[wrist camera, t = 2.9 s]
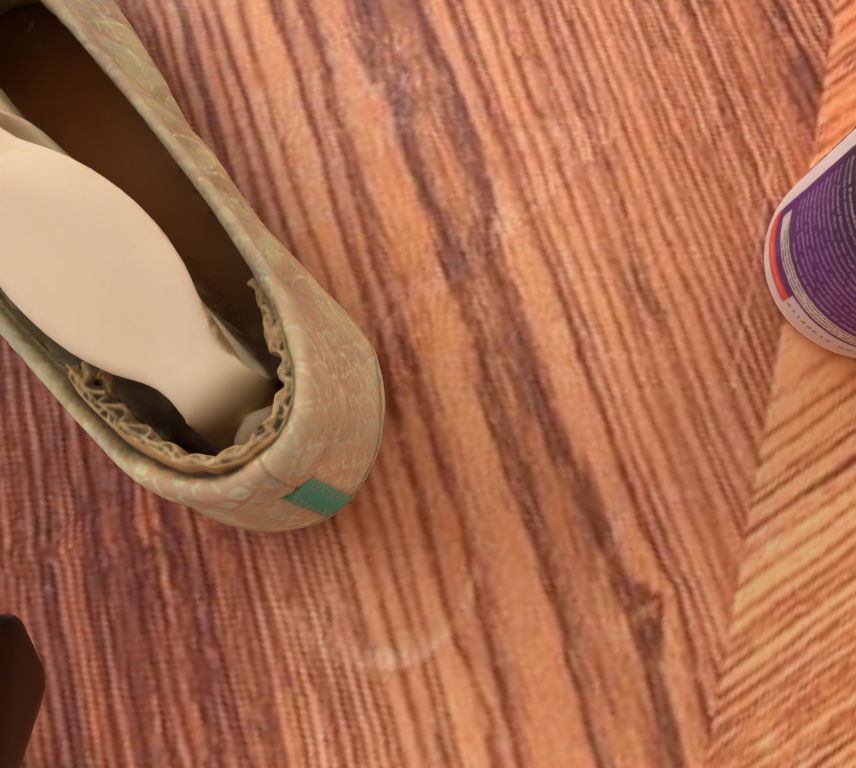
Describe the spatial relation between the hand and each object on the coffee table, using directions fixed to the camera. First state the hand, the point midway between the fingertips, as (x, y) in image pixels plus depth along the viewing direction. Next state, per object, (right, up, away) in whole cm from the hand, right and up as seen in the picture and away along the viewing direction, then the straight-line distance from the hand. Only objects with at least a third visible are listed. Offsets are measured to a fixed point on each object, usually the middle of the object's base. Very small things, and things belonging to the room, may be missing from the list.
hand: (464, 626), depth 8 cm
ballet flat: (-10, +8, +16) cm, 20 cm away
